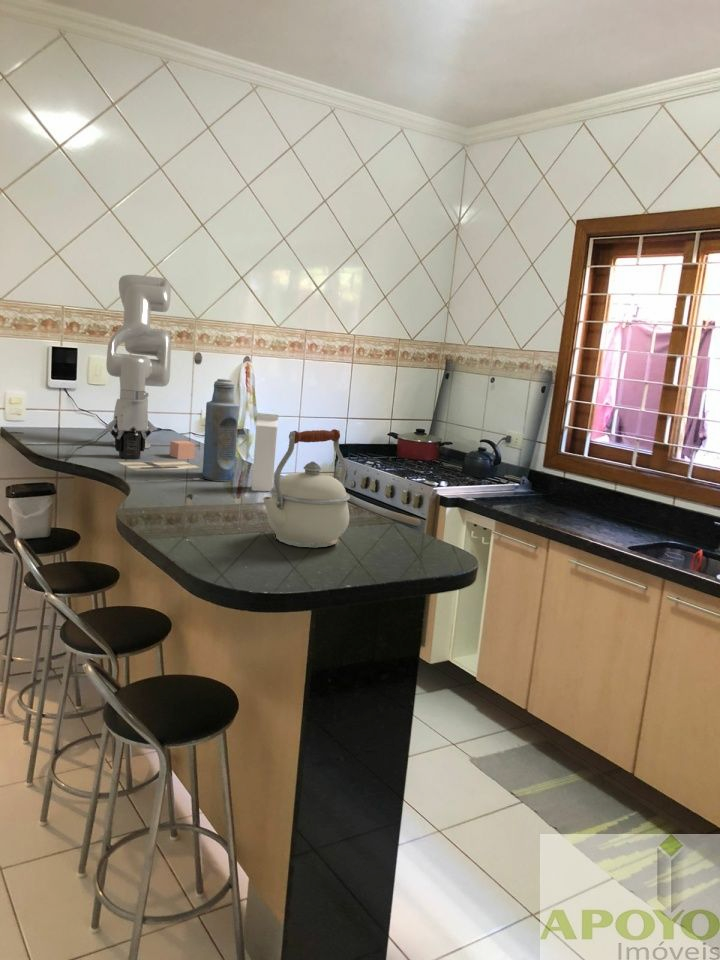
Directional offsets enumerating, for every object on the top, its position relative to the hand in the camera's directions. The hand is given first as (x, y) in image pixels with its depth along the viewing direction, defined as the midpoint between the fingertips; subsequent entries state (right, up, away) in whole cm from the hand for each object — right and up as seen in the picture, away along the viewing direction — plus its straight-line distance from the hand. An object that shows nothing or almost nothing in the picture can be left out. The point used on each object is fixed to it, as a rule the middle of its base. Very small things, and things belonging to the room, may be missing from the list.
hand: (129, 450), depth 247 cm
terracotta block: (+14, -3, +11) cm, 18 cm away
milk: (+46, -12, -25) cm, 54 cm away
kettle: (+61, -23, -77) cm, 101 cm away
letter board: (+12, -6, -7) cm, 15 cm away
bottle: (+31, -9, -15) cm, 36 cm away
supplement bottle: (0, -3, +1) cm, 3 cm away
